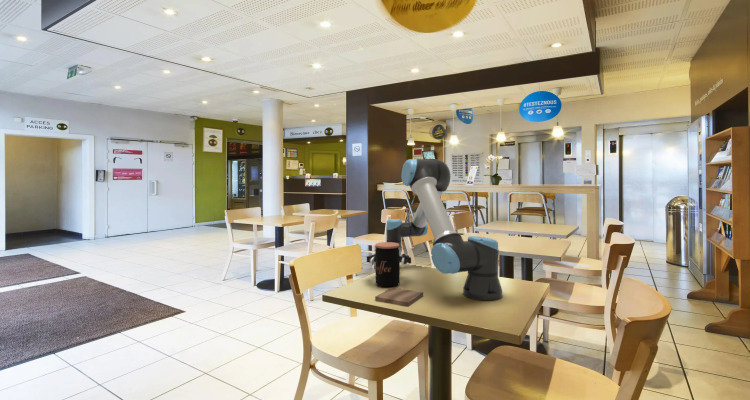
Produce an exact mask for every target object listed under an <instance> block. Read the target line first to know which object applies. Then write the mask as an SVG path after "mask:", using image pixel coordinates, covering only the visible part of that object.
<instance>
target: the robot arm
mask: <svg viewBox="0 0 750 400" xmlns="http://www.w3.org/2000/svg"><path fill="white" fill-rule="evenodd" d="M400 177H401V182H402V184H403V186H405V187H409V188H410V190H411V192H412V193H413V194H415V195H416V196H417V199H418V201H419V204H418V206H417V208H416V211H415V213H414V215H413V217H412V219H411V221H410V222H402V220H401V219H398V218H391V219H387V221H386V228H385V230H386V242H393V243H398V244H399V250H400V263H401V268H404V266H405V265H407V264H412V257H411V256H409V255H407V254H406V253H402V251H403V246H402V238H412V237H423V236H426V235H427V234H428V229H430V231H431V233H432V236H433V238H434V241H433V243H432V248H431V251H430V254H431V256H430V257H431V260H432V264H433V266H434V267H435V268H436V269H437V271H438V272H440V273H442V274H445V275H446V274H447V275H448V274H457V273H465V272H467V276H466V279H465V282H464V284H463V287H462V290H463V291H462V294H463V296H464V297H466V298H469V299H472V300H478V301H496V300H500V299H502V298H503V289H502V286H501V282H500V280H499V252H500V249H499V243H498V241H497V239H493V238H491V237H490V238H489V237H484V236H483V237H482V236H475V235H469V236H468V237H467V240H464V239H463V236H462V235H461V233H460V232H456V231H455V228H454V226H453V224H452V221H451V220H450V217H449V215H448V212H447V210H446V207H445V205H444V203H443V201H442V199H441V196H442V194H443V193H444V192H447V190H448V187H449V186H450V182H451V177H452V174H451V171H450V169H449V167H448V164H446V163H445V161H443V160H441V159H436V158H433V159H431V158H430V159H429V158H427V159H425V158H424V159H423V158H422V159H421V158H420V159H419V158H414V159H413V158H411V159H410V158H409V159H407V160H406V161H405V162H404V163H403V165H402V170H401V176H400ZM428 225H429V228H428ZM366 263H369V267H373V266H374V265H375V253H374V254H370V255H368V256H366Z"/></svg>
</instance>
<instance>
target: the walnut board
mask: <svg viewBox="0 0 750 400" xmlns="http://www.w3.org/2000/svg"><path fill="white" fill-rule="evenodd" d="M422 297H424V292H423V291H417V290H411V289H405V288H399V287H392V288H388V289H386V290H385V291H383V292H381V293H379V294H377V295H376V296H374V300H375V301H376V302H382V303H388V304H393V305H397V304H398V305H399V306H403V307H409V306H411V305H413V304H414V303H416V302H417V301H418V300H419V299H421V298H422ZM398 305H397V306H398Z"/></svg>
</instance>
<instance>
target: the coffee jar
mask: <svg viewBox="0 0 750 400" xmlns="http://www.w3.org/2000/svg"><path fill="white" fill-rule="evenodd" d="M374 254H375V262H374V265H375V266H374V267H375V268H374V269H375V284H376V286H378V287H380V288H385V289H387V288H388V289H390V288H392V287H393V288H397V287H398V286H399V285H400V282H401V281H400V280H401V279H400V275H401V271H400V268H401V267H400V263H401V262H400V255H401V254H400V250H399V244H398V243H393V242H387V241H385V242H383V241H382V242H378V243H375V251H374Z"/></svg>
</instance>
